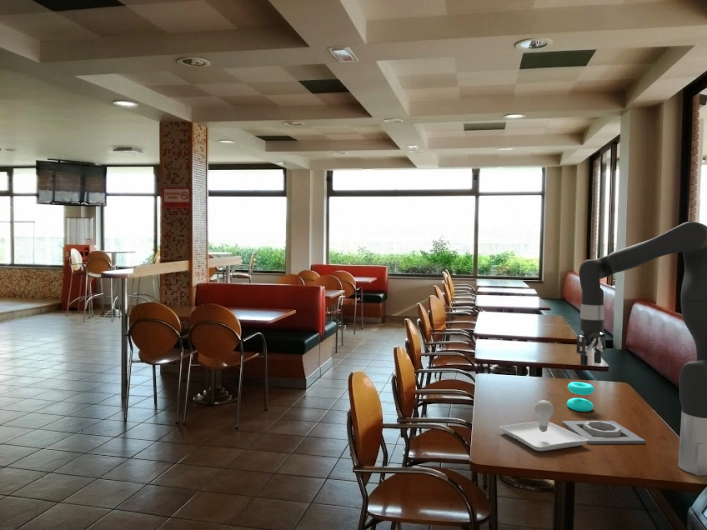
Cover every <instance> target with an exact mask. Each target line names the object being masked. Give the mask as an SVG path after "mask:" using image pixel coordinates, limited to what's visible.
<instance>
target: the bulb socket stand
mask: <svg viewBox="0 0 707 530" xmlns="http://www.w3.org/2000/svg"><path fill="white" fill-rule="evenodd" d="M561 424H562V425H563V426H564V427H566V428H567V430H569V431H571V432H573V433H575V434H577V435H580V436H582V437H584V438H586V439H588V441H587V442H586V444H588V445H600V444H601V445H605V444H607V445H611V444H612V445H614V444H619V445H620V444H621V445H622V444H624V445H625V444H627V445H628V444H631V445H632V444H635V445H636V444H646V440H645V439H644V438H642V437H640V436H639V435H637V434H635V433H634V432H632V431H631V430H629V429H627V428H626V427H624V426H623V425H621V424H620V423H618V422H617V421H615V420H561Z"/></svg>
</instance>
